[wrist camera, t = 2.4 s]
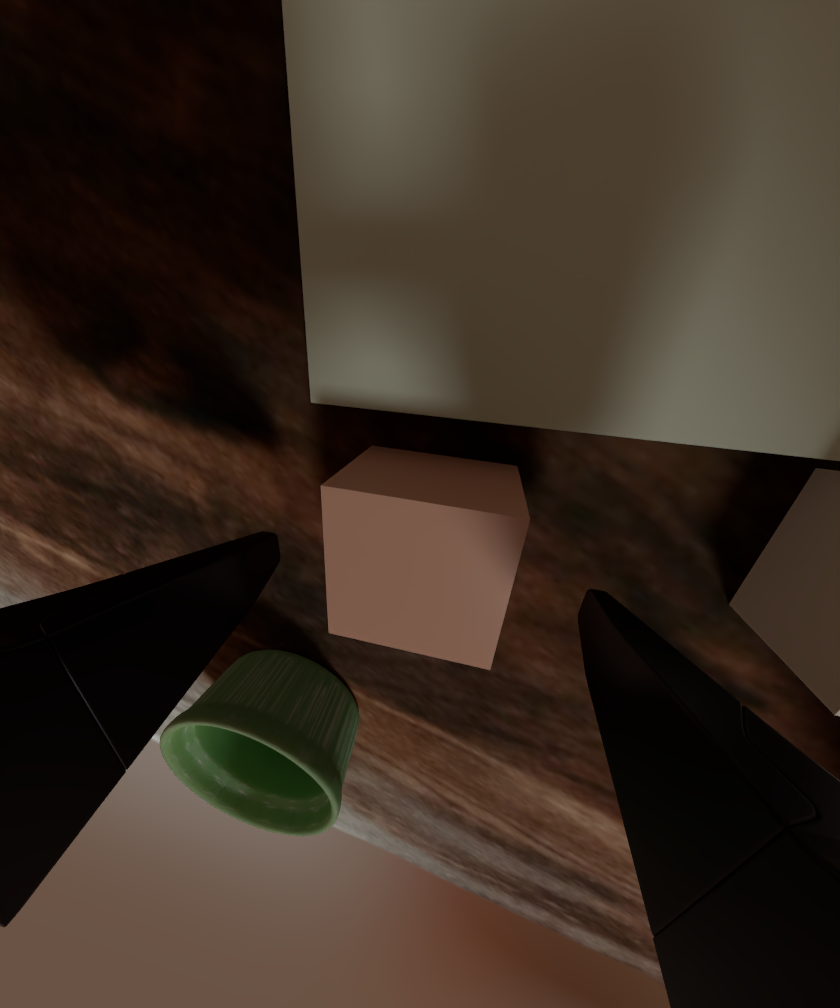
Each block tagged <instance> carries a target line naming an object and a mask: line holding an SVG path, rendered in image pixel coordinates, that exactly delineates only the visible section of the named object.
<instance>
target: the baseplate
mask: <svg viewBox="0 0 840 1008" xmlns="http://www.w3.org/2000/svg"><path fill="white" fill-rule="evenodd" d="M282 12H283V25H284V39H285V53H286V66H287V80H288V94H289V108H290V121H291V135H292V149H293V163H294V176H295V190H296V204H297V218H298V231H299V245H300V259H301V272H302V286H303V300H304V314H305V327H306V341H307V355H308V369H309V382H310V396H311V403H319V404H328V405H337V406H346V407H355V408H364V409H373V410H382V411H392V412H401V413H410V414H419V415H428V416H437V417H446V418H455V419H464V420H473V421H482V422H491V423H500V424H509V425H518V426H527V427H536V428H545V429H554V430H563V431H572V432H581V433H590V434H599V435H609V436H618V437H627V438H636V439H645V440H654V441H663V442H672V443H681V444H690V445H699V446H708V447H717V448H726V449H735V450H744V451H753V452H762V453H771V454H780V455H789V456H798V457H807V458H816V459H826V460H835V461H840V0H282Z"/></svg>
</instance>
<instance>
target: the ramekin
mask: <svg viewBox="0 0 840 1008" xmlns="http://www.w3.org/2000/svg"><path fill="white" fill-rule="evenodd" d="M358 726H359V712H358V708H357V705H356V702H355V700H354V698H353V696H352V694H351V693H350V691H349V690H348V689H347V688H346V686H345V685H344V684H343V683H342V682H341V681H340V680H339V679H338V678H337V677H336V676H335V675H334V674H332V673H331V672H330V671H328V670H327V669H325V668H324V667H322V666H321V665H319V664H317V663H316V662H314V661H312V660H310V659H307V658H305V657H303V656H300V655H298V654H294V653H290V652H286V651H281V650H269V649H268V650H259V651H253V652H250V653H248V654H245V655H244V656H242V657H240V658H239V659H237V660H236V661H235V662H234V663H233V664H232V665H231V666H230V667H229V668H228V669H227V670H226V671H225V672H224V673H223V674H222V675H221V676H220V677H219V678H218V679H217V680H216V681H215V682H214V683H213V684H212V685H211V686H210V687H209V688H208V689H207V690H206V691H205V692H204V693H203V695H202V696H201V697H200V698H199V699H198V700H197V701H196V702H195V703H194V704H193V705H192V706H191V707H190V708H189V709H188V710H186V711H184V712H183V713H181V714H180V715H178V716H177V717H176V718H175V719H174V720H173V721H172V722H171V723H170V724H169V725H168V726H167V727H166V728H165V729H164V731H163V733H162V735H161V737H160V748H161V752H162V756H163V758H164V759H165V762H166V763H167V765H168V766H169V768H170V769H171V770H172V771H173V773H174V774H175V775H176V776H177V777H178V778H179V780H180V781H182V783H184V784H185V785H186V786H187V787H188V788H189V789H190V790H191V791H193V792H194V793H195V794H196V795H198V796H199V797H200V798H202V799H203V800H205V801H206V802H207V803H209V804H210V805H212V806H214V807H215V808H217V809H219V810H220V811H222V812H224V813H226V814H228V815H230V816H232V817H234V818H236V819H238V820H240V821H242V822H245V823H247V824H249V825H252V826H255V827H257V828H260V829H264V830H267V831H270V832H274V833H280V834H286V835H293V836H295V835H296V836H309V835H315V834H319V833H322V832H324V831H326V830H327V829H329V828H331V826H332V825H333V824H334V823H335V821H336V819H337V817H338V814H339V810H340V806H341V798H342V786H343V782H344V778H345V774H346V770H347V767H348V763H349V760H350V756H351V752H352V749H353V745H354V742H355V738H356V734H357V730H358Z"/></svg>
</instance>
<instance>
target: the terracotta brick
mask: <svg viewBox="0 0 840 1008" xmlns="http://www.w3.org/2000/svg"><path fill="white" fill-rule="evenodd" d="M321 500H322V518H323V536H324V555H325V573H326V592H327V610H328V628H329V633H331V634H335V635H340V636H344V637H349V638H353V639H357V640H362V641H366V642H370V643H375V644H379V645H383V646H388V647H392V648H396V649H401V650H405V651H410V652H414V653H418V654H423V655H427V656H431V657H436V658H440V659H444V660H449V661H453V662H457V663H462V664H466V665H471V666H475V667H479V668H484V669H488V670H490V668H491V665H492V661H493V657H494V653H495V650H496V646H497V642H498V638H499V635H500V631H501V627H502V623H503V619H504V616H505V612H506V608H507V604H508V601H509V597H510V593H511V589H512V585H513V582H514V578H515V574H516V570H517V567H518V563H519V559H520V555H521V552H522V548H523V544H524V540H525V536H526V533H527V529H528V525H529V521H530V517H529V513H528V509H527V504H526V500H525V496H524V492H523V488H522V483H521V479H520V475H519V471H518V466H515V465H508V464H501V463H493V462H486V461H479V460H472V459H465V458H458V457H451V456H443V455H436V454H429V453H422V452H415V451H408V450H400V449H393V448H386V447H379V446H371V447H370V448H368V449H367V450H366V451H365V452H363V453H362V454H361V455H359V456H358V457H357V458H355V459H354V460H353V461H352V462H350V463H349V464H348V465H346V466H345V467H344V468H343V469H341V470H340V471H339V472H337V473H336V474H335V475H334V476H332V477H331V478H330V479H328V480H327V481H326V482H325V483H323V484H322V485H321Z"/></svg>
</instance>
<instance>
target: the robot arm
mask: <svg viewBox="0 0 840 1008" xmlns="http://www.w3.org/2000/svg"><path fill="white" fill-rule="evenodd" d="M279 561H280V549H279V542H278V537H277V535H276V534H275V533H271V532H265V531H262V532H258V533H255V534H252V535H248V536H245V537H242V538H239V539H235V540H232V541H229V542H226V543H222V544H219V545H216V546H213V547H209V548H206V549H203V550H200V551H196V552H193V553H190V554H187V555H183V556H180V557H177V558H174V559H170V560H167V561H164V562H161V563H157V564H154V565H151V566H148V567H144V568H141V569H138V570H135V571H131V572H128V573H126V574H125V575H124V574H121V575H118V576H115V577H112V578H108V579H105V580H102V581H98V582H95V583H92V584H88V585H85V586H81V587H78V588H74V589H71V590H67V591H64V592H60V593H56V594H53V595H49V596H45V597H42V598H38V599H34V600H30V601H27V602H23V603H19V604H15V605H11V606H8V607H4V608H0V926H1V927H6V926H7V925H8V924H9V923H10V921H11V920H12V919H13V918H14V917H15V916H16V914H17V913H18V912H19V911H20V910H21V908H22V907H23V906H24V904H25V903H26V902H27V901H28V899H29V898H30V897H31V895H32V894H33V893H34V891H35V890H36V889H37V887H38V886H39V884H40V883H41V882H42V881H43V880H44V878H45V877H46V876H47V874H48V873H49V872H50V870H51V869H52V868H53V866H54V865H55V864H56V863H57V861H58V860H59V858H60V857H61V856H62V855H63V853H64V852H65V851H66V849H67V848H68V847H69V846H70V844H71V843H72V842H73V840H74V839H75V838H76V836H77V835H78V834H79V832H80V831H81V830H82V829H83V827H84V826H85V825H86V823H87V822H88V821H89V819H90V818H91V817H92V815H93V814H94V813H95V811H96V810H97V809H98V807H99V806H100V805H101V803H102V802H103V801H104V800H105V798H106V797H107V796H108V794H109V793H110V792H111V791H112V789H113V788H114V787H115V785H116V784H117V783H118V781H119V780H120V779H121V777H122V776H123V775H124V774H125V772H126V769H128V768H129V766H130V765H131V764H132V763H133V761H134V760H135V759H136V758H137V756H138V755H139V754H140V752H141V751H142V750H143V748H144V747H145V746H146V744H147V743H148V742H149V741H150V739H151V738H152V737H153V735H154V734H155V733H156V731H157V730H158V729H159V727H160V726H161V725H162V723H163V722H164V721H165V720H166V718H167V717H168V716H169V714H170V713H171V712H172V710H173V709H174V708H175V706H176V705H177V704H178V703H179V701H180V700H181V699H182V697H183V696H184V695H185V693H186V692H187V691H188V689H189V688H190V687H191V686H192V684H193V683H194V682H195V680H196V679H197V678H198V676H199V675H200V674H201V672H202V671H203V670H204V669H205V667H206V666H207V665H208V663H209V662H210V661H211V659H212V658H213V657H214V655H215V654H216V653H217V652H218V650H219V649H220V648H221V646H222V645H223V644H224V642H225V641H226V640H227V638H228V637H229V636H230V635H231V633H232V632H233V631H234V629H235V628H236V627H237V625H238V624H239V623H240V621H241V620H242V619H243V618H244V616H245V615H246V614H247V612H248V611H249V610H250V608H251V607H252V605H253V604H254V602H255V601H256V599H257V598H258V596H259V595H260V593H261V591H262V590H263V588H264V587H265V585H266V583H267V582H268V580H269V578H270V577H271V575H272V574H273V572H274V570H275V569H276V567H277V565H278V564H279ZM578 624H579V632H580V639H581V646H582V654H583V661H584V668H585V674H586V679H587V683H588V687H589V691H590V695H591V699H592V703H593V707H594V710H595V714H596V718H597V722H598V726H599V730H600V734H601V738H602V742H603V745H604V749H605V753H606V757H607V761H608V765H609V769H610V773H611V776H612V780H613V784H614V788H615V792H616V796H617V800H618V804H619V808H620V811H621V815H622V819H623V823H624V827H625V831H626V835H627V839H628V843H629V846H630V850H631V854H632V858H633V862H634V866H635V870H636V874H637V878H638V881H639V885H640V889H641V893H642V897H643V901H644V905H645V909H646V912H647V916H648V920H649V924H650V928H651V932H652V934H653V936H655V937H654V938H653V941H654V945H655V949H656V953H657V956H658V960H659V964H660V968H661V972H662V976H663V980H664V984H665V988H666V991H667V995H668V999H669V1003H670V1007H671V1008H840V780H839V779H837V778H836V777H835V776H833V775H832V774H831V773H829V772H828V771H827V770H825V769H824V768H823V767H821V766H820V765H819V764H818V763H816V762H815V761H814V760H812V759H811V758H810V757H808V756H807V755H806V754H804V753H803V752H802V751H801V750H799V749H798V748H797V747H796V746H794V745H793V744H792V743H791V742H789V741H788V740H787V739H786V738H784V737H783V736H782V735H781V734H779V733H778V732H777V731H776V730H774V729H773V728H772V727H771V726H769V725H768V724H767V723H766V722H764V721H763V720H762V719H761V718H759V717H758V716H757V715H756V714H755V713H753V712H752V711H751V710H750V709H749V708H747V707H746V706H742V703H741V702H740V701H739V700H737V699H736V698H735V697H734V696H733V695H731V694H730V693H729V692H728V691H726V690H725V689H724V688H723V687H722V686H720V685H719V684H718V683H717V682H716V681H714V680H713V679H712V678H711V677H709V676H708V675H707V674H706V673H705V672H703V671H702V670H701V669H700V668H698V667H697V666H696V665H695V664H694V663H692V662H691V661H690V660H689V659H687V658H686V657H685V656H684V655H683V654H681V653H680V652H679V651H678V650H676V649H675V648H674V647H673V646H672V645H670V644H669V643H668V642H667V641H666V640H664V639H663V638H662V637H661V636H659V635H658V634H657V633H656V632H655V631H653V630H652V629H651V628H650V627H648V626H647V625H646V624H645V623H644V622H642V621H641V620H640V619H639V618H637V617H636V616H635V615H634V614H633V613H631V612H630V611H629V610H628V609H627V608H625V607H624V606H623V605H622V604H620V603H619V602H618V601H617V600H616V599H614V598H613V597H612V596H611V595H609V594H608V593H607V592H605V591H600V590H595V589H589V590H588V591H587V592H586V594H585V597H584V599H583V602H582V605H581V607H580V610H579V613H578Z"/></svg>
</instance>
